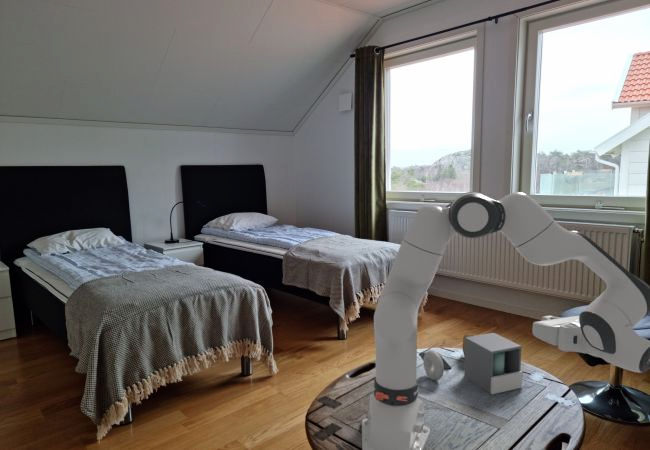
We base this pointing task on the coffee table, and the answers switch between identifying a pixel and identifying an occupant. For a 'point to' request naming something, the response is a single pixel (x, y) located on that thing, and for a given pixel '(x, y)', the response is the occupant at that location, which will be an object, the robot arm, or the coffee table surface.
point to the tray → (506, 382)
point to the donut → (433, 365)
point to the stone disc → (464, 340)
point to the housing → (489, 357)
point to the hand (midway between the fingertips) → (545, 318)
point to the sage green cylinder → (498, 363)
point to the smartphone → (446, 365)
